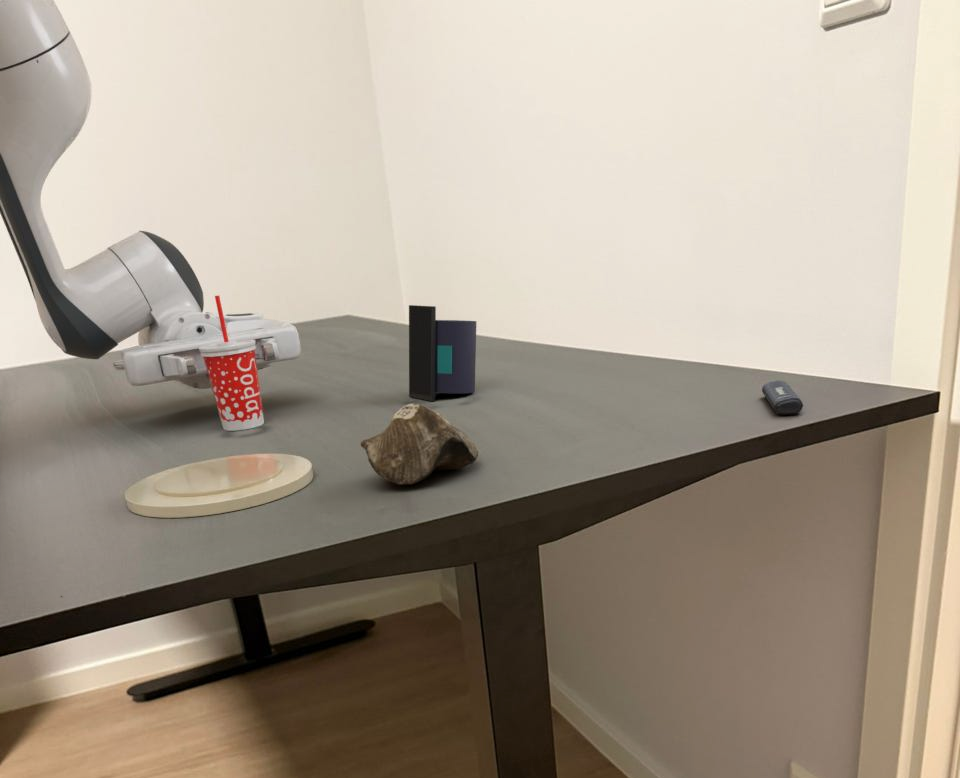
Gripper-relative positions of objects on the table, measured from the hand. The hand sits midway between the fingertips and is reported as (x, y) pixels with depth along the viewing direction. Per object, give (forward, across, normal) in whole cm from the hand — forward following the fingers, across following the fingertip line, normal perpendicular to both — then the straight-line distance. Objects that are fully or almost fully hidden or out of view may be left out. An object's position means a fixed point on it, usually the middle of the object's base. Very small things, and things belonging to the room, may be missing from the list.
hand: (231, 359), depth 104 cm
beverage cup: (-1, 0, +8) cm, 8 cm away
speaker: (+6, +23, +8) cm, 25 cm away
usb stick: (+42, +40, +8) cm, 58 cm away
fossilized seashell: (+36, +4, +8) cm, 37 cm away
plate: (+25, -10, +8) cm, 28 cm away
